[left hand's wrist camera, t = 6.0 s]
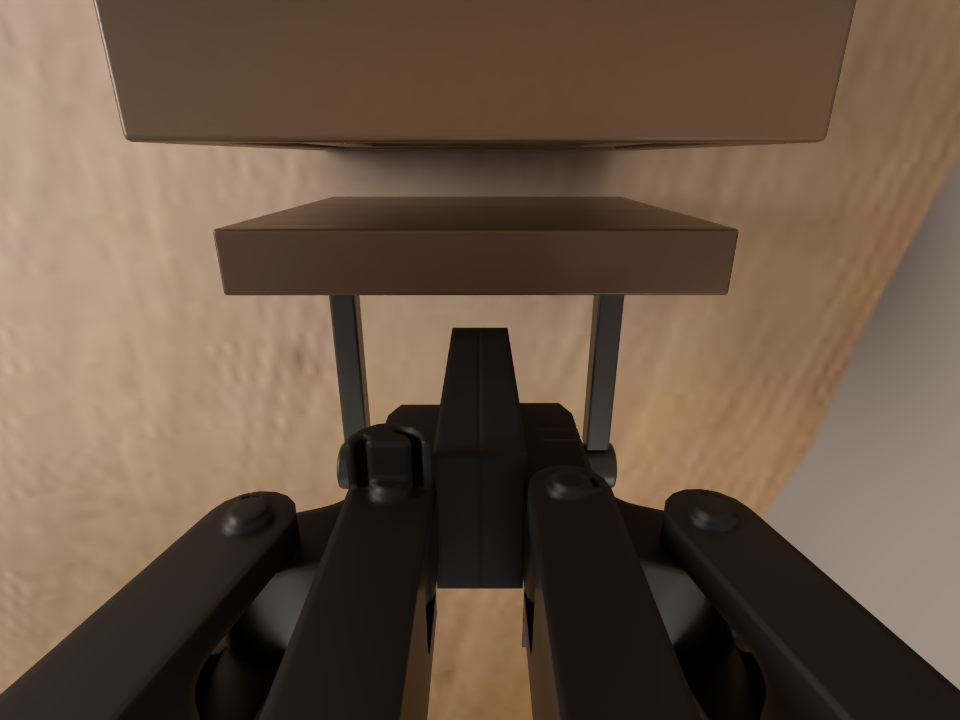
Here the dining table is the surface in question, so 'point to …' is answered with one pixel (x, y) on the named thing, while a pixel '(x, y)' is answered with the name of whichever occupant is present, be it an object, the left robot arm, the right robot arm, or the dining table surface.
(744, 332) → the dining table surface
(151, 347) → the dining table surface
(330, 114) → the cabinet
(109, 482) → the dining table surface
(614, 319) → the drawer
